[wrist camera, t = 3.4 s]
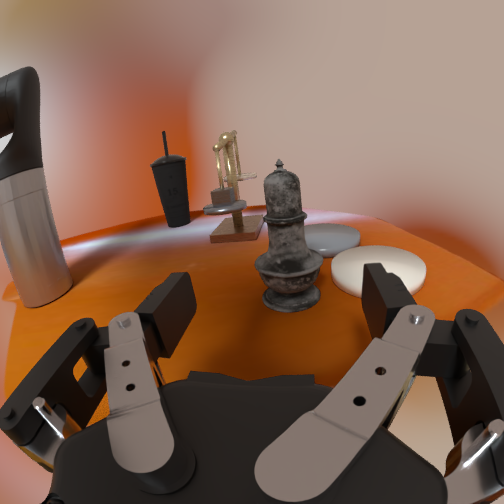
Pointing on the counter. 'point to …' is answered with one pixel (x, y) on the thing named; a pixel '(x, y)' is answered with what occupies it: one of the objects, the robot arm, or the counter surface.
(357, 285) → the cream dish
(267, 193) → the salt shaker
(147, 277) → the counter surface
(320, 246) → the slate-grey dish
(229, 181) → the brass balance
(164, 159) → the drinking cup
